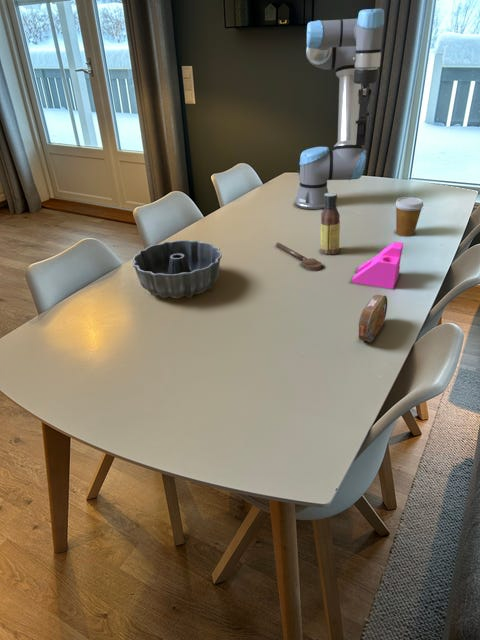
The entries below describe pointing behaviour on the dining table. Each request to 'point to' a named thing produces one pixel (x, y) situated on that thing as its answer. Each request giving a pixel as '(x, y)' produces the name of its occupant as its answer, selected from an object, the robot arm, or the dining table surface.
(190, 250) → the bundt pan
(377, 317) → the tin
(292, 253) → the wooden spoon
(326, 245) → the sauce bottle
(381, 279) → the bracket
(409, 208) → the disposable coffee cup
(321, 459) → the dining table surface
